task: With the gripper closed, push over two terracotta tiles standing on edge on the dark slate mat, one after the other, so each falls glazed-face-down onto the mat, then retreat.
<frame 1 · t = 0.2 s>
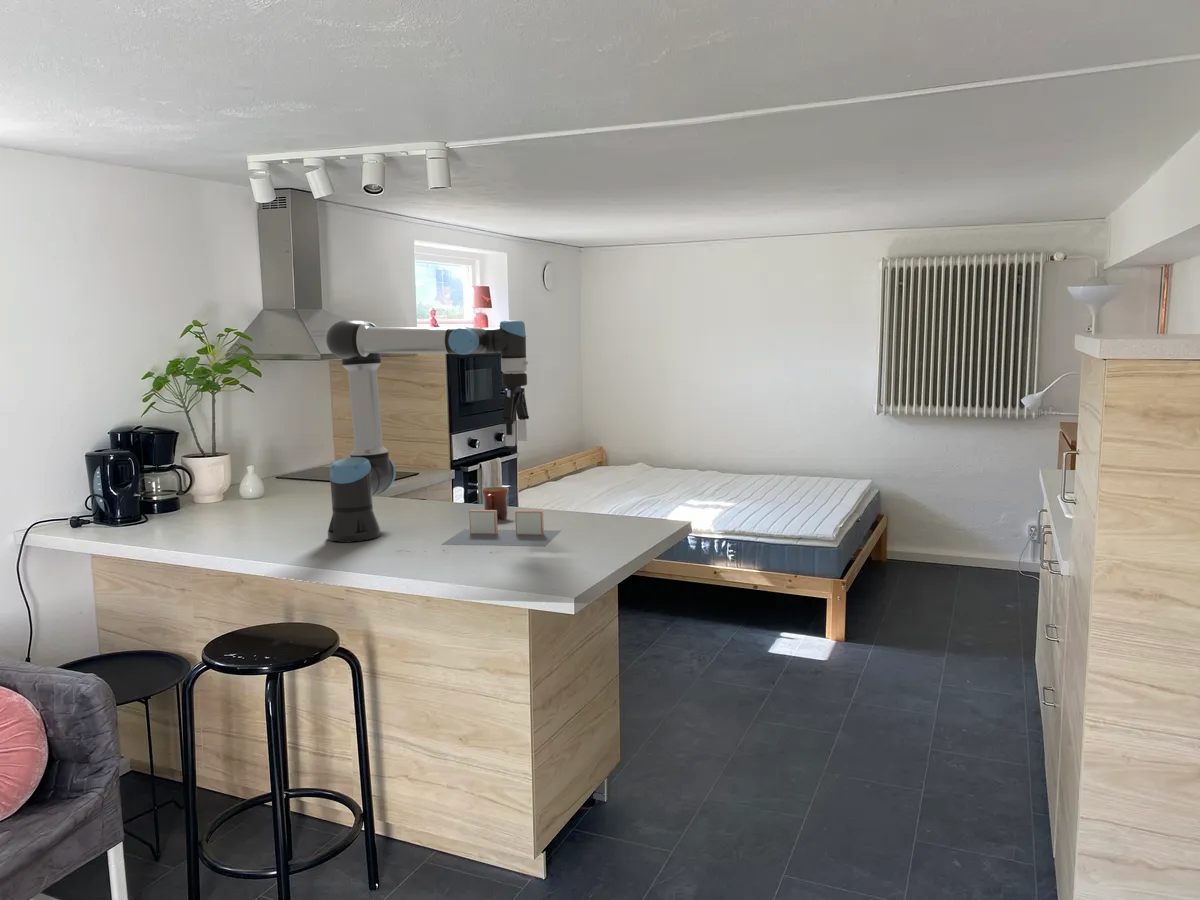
hand: (516, 443, 264), 27 cm above the worktop, fingers open, 13 cm apart
tile b: (529, 534, 255), point 1 cm above the worktop, touching mat
tile a: (483, 533, 258), point 1 cm above the worktop, touching mat
mug: (494, 521, 282), on the worktop
mat: (503, 541, 253), on the worktop
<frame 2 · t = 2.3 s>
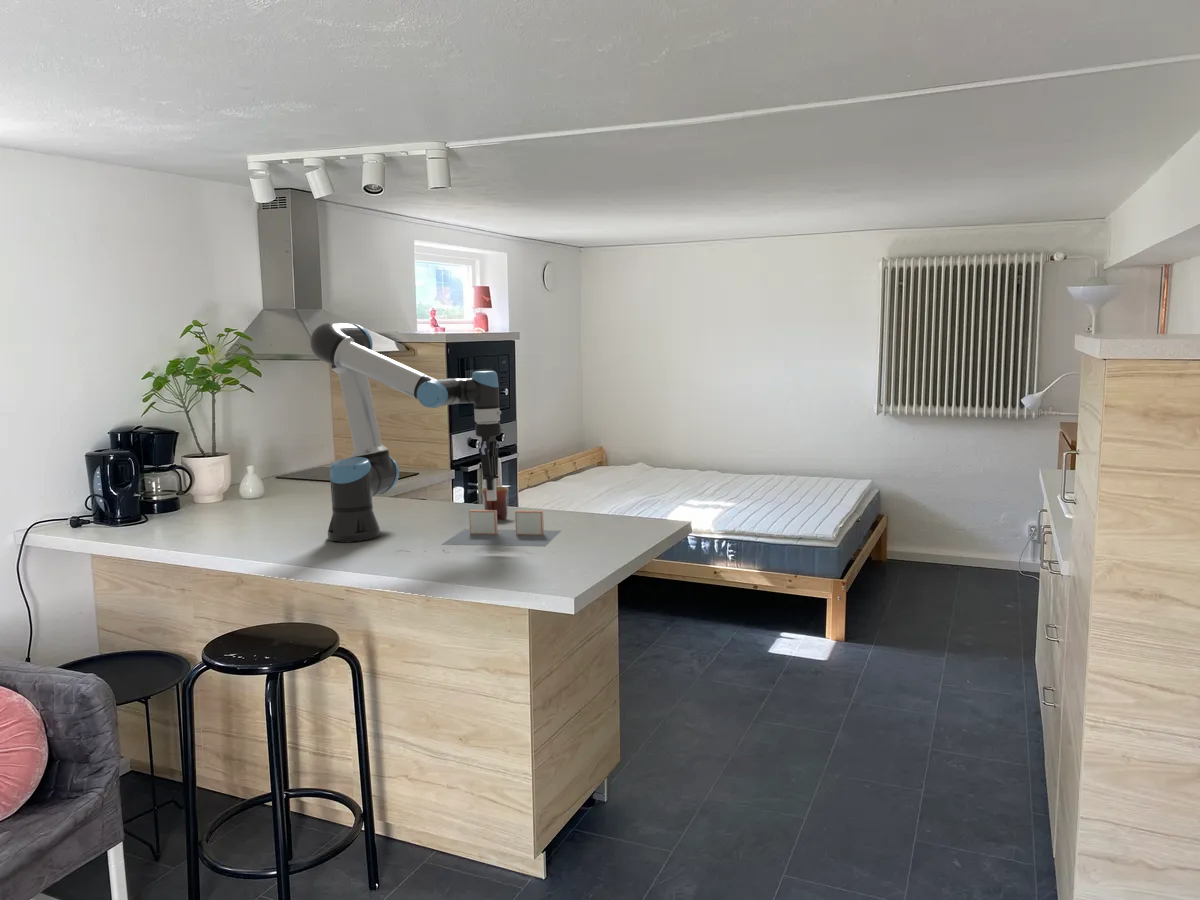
hand: (491, 500, 264), 10 cm above the worktop, fingers closed
nothing on the worktop moved.
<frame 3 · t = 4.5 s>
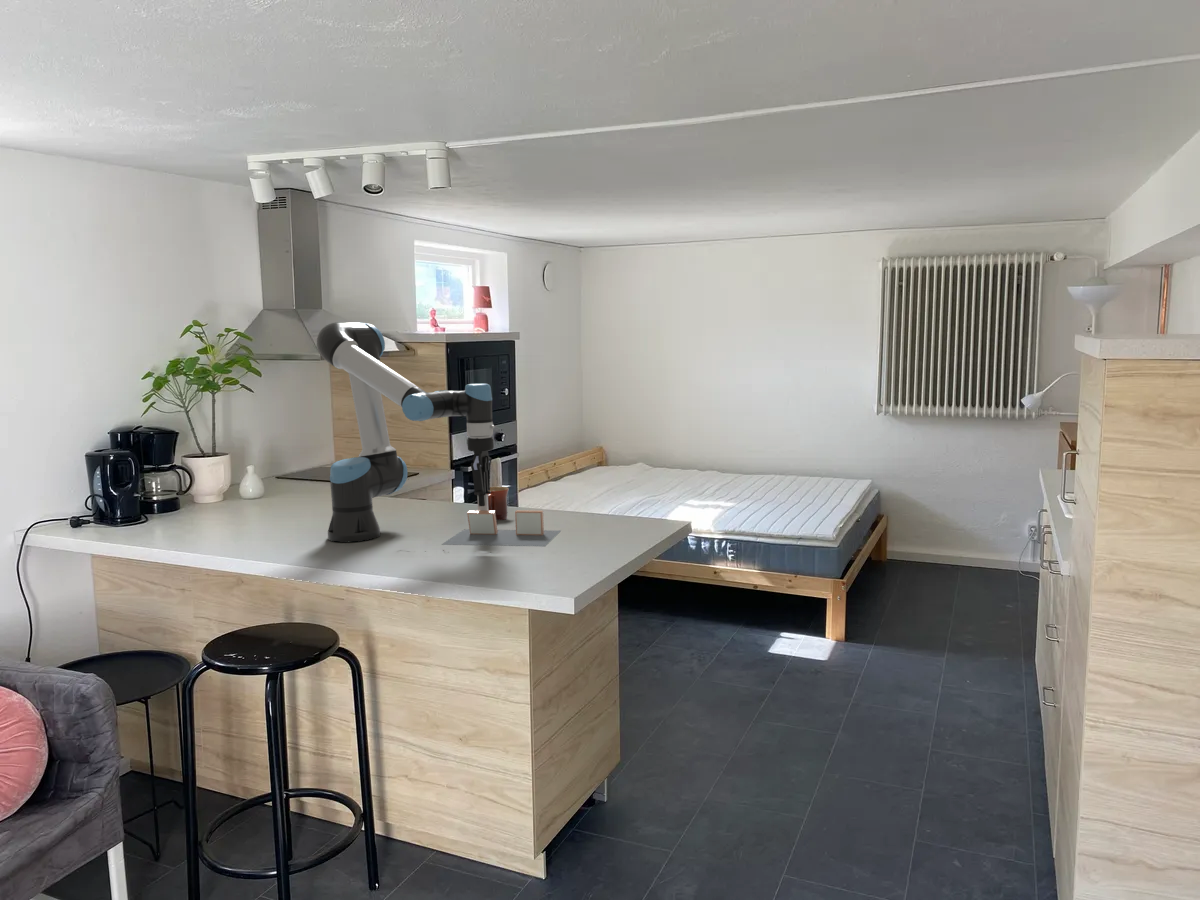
hand: (483, 516, 257), 6 cm above the worktop, fingers closed
tile a: (483, 533, 257), point 1 cm above the worktop, tilted 15°, touching mat
everything else where it was.
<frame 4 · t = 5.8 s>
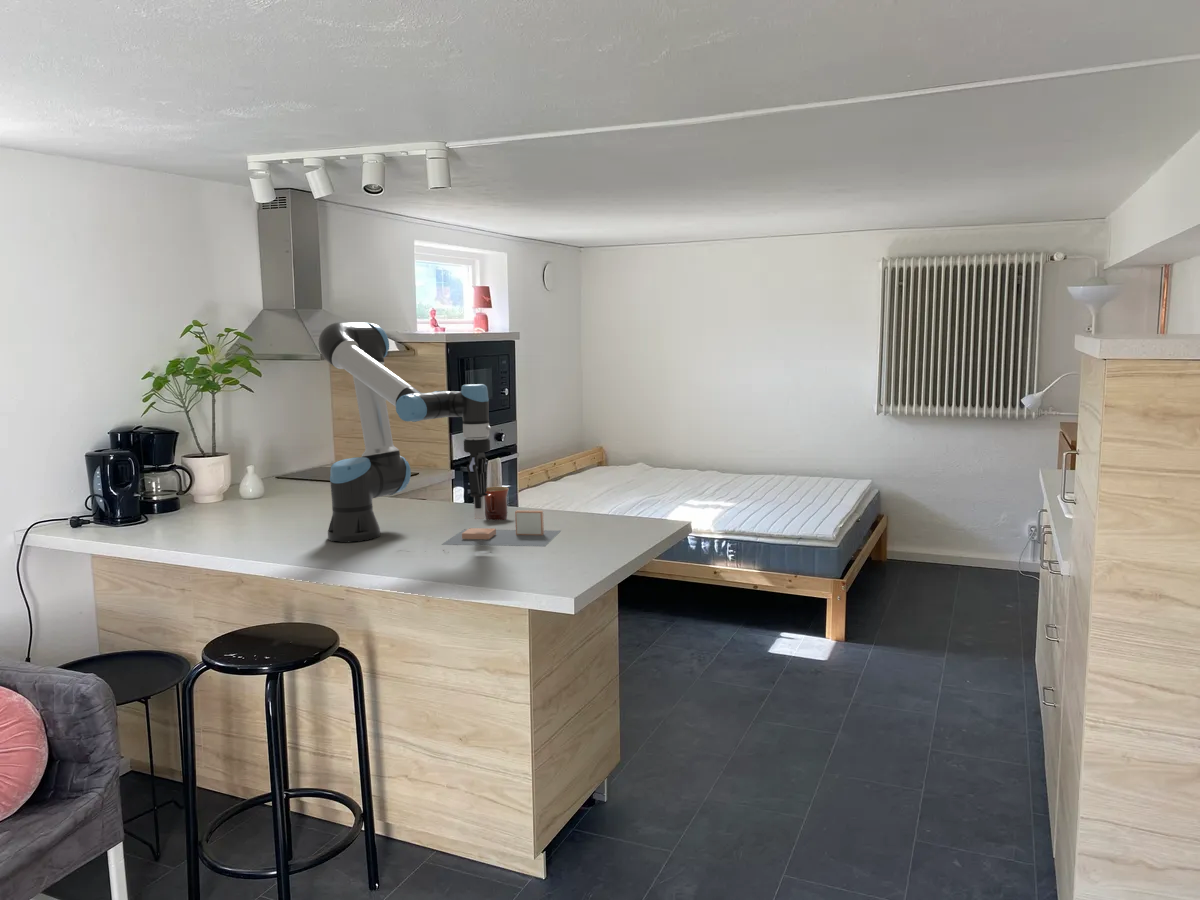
hand: (480, 518, 254), 6 cm above the worktop, fingers closed
tile a: (482, 531, 257), point 2 cm above the worktop, tilted 90°, touching mat
everything else where it was.
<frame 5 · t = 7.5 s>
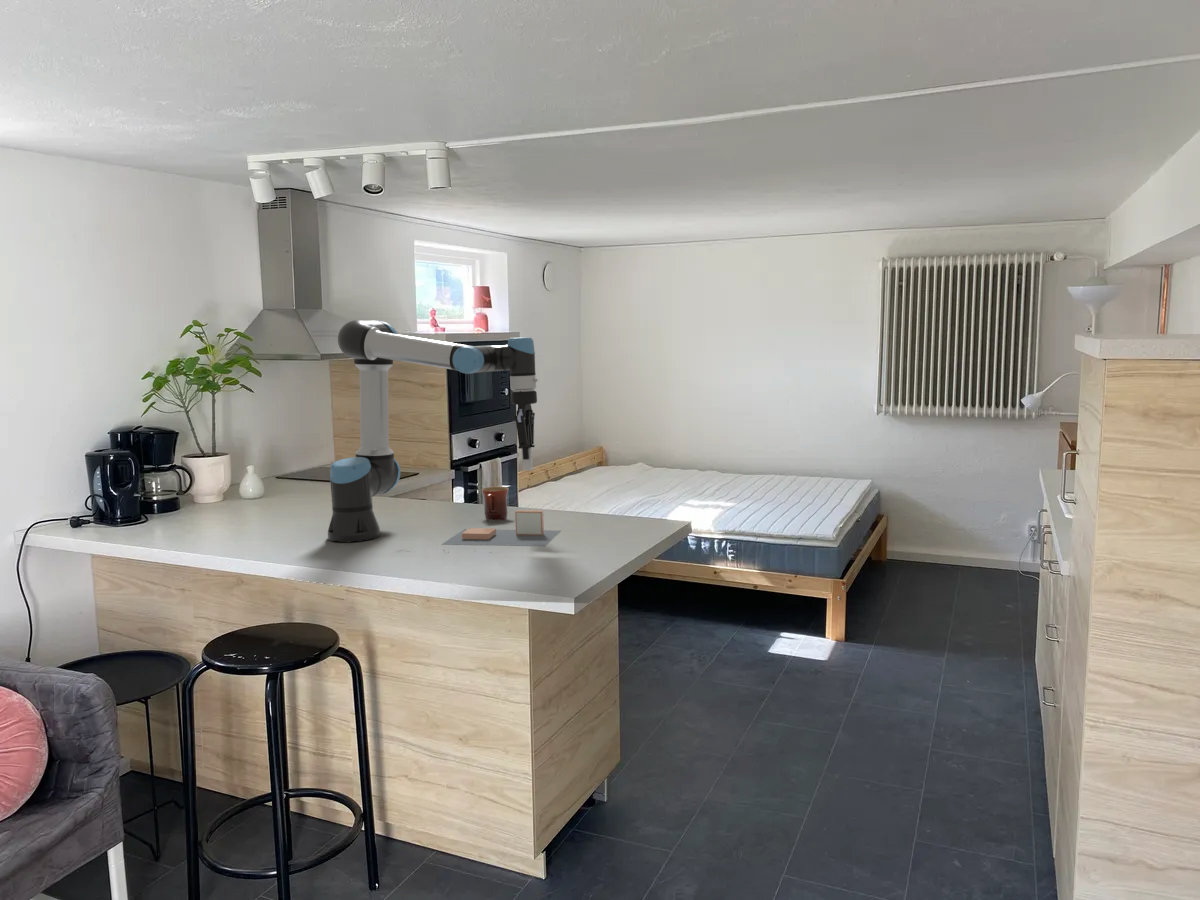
hand: (527, 469, 259), 19 cm above the worktop, fingers closed
nothing on the worktop moved.
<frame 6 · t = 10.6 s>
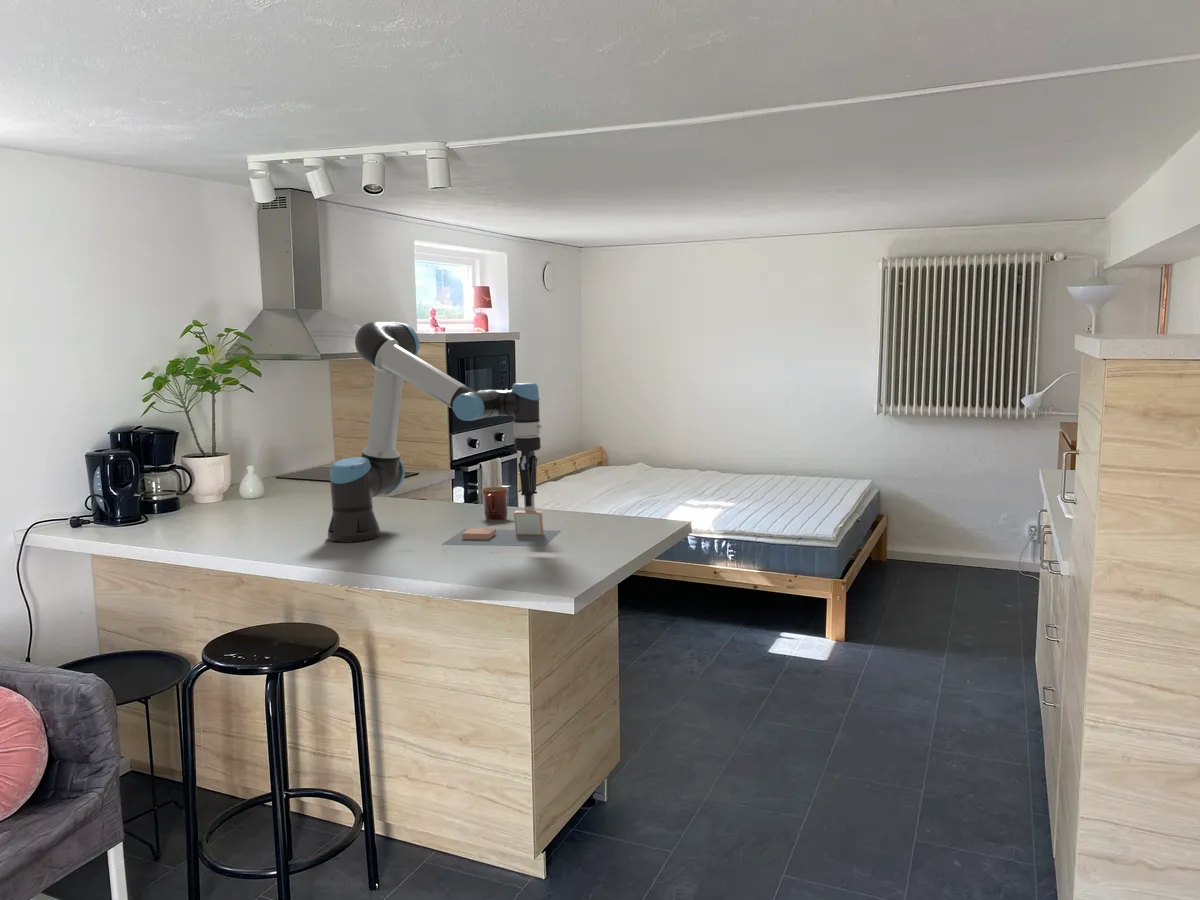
hand: (529, 516, 255), 6 cm above the worktop, fingers closed
tile b: (529, 534, 255), point 1 cm above the worktop, tilted 10°, touching mat
everything else where it was.
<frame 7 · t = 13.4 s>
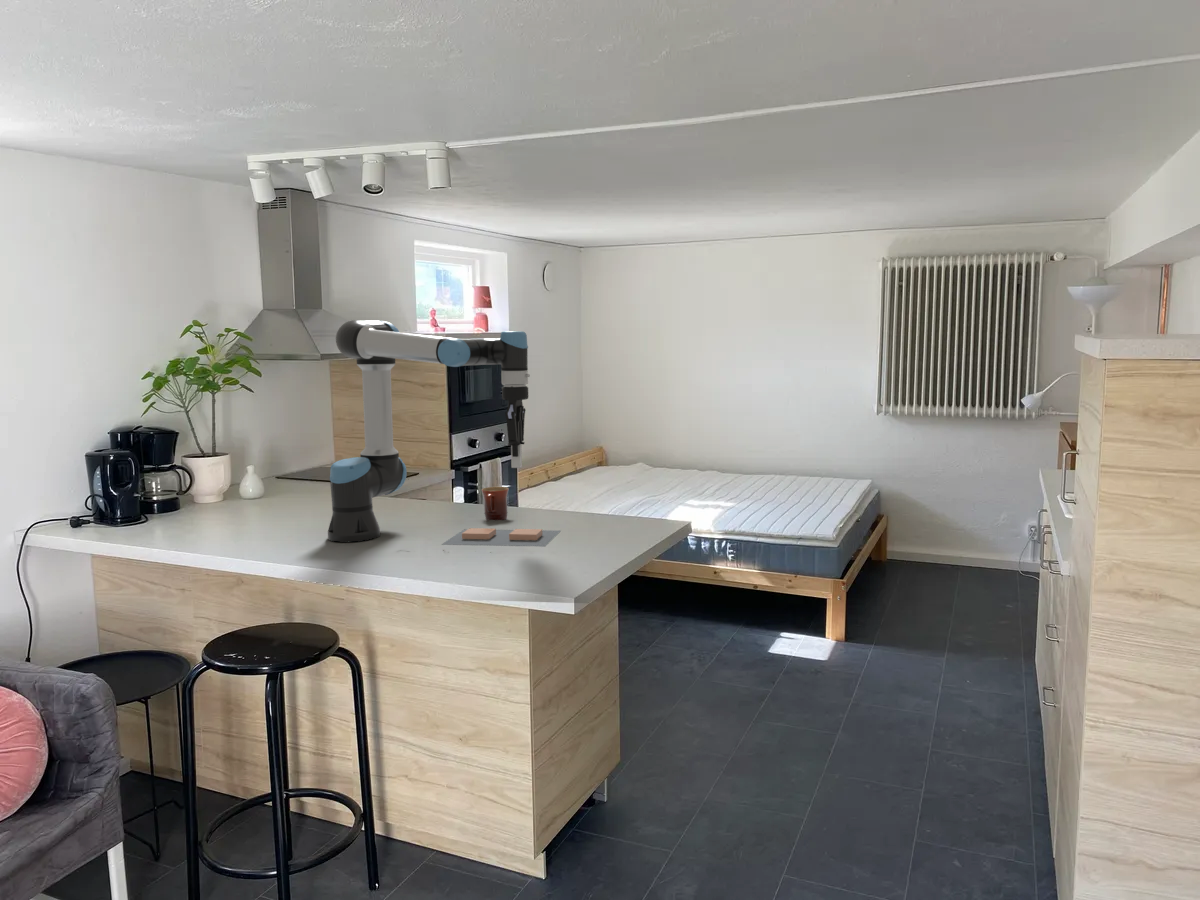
hand: (516, 467, 252), 21 cm above the worktop, fingers closed
tile b: (529, 532, 254), point 2 cm above the worktop, tilted 90°, touching mat
everything else where it was.
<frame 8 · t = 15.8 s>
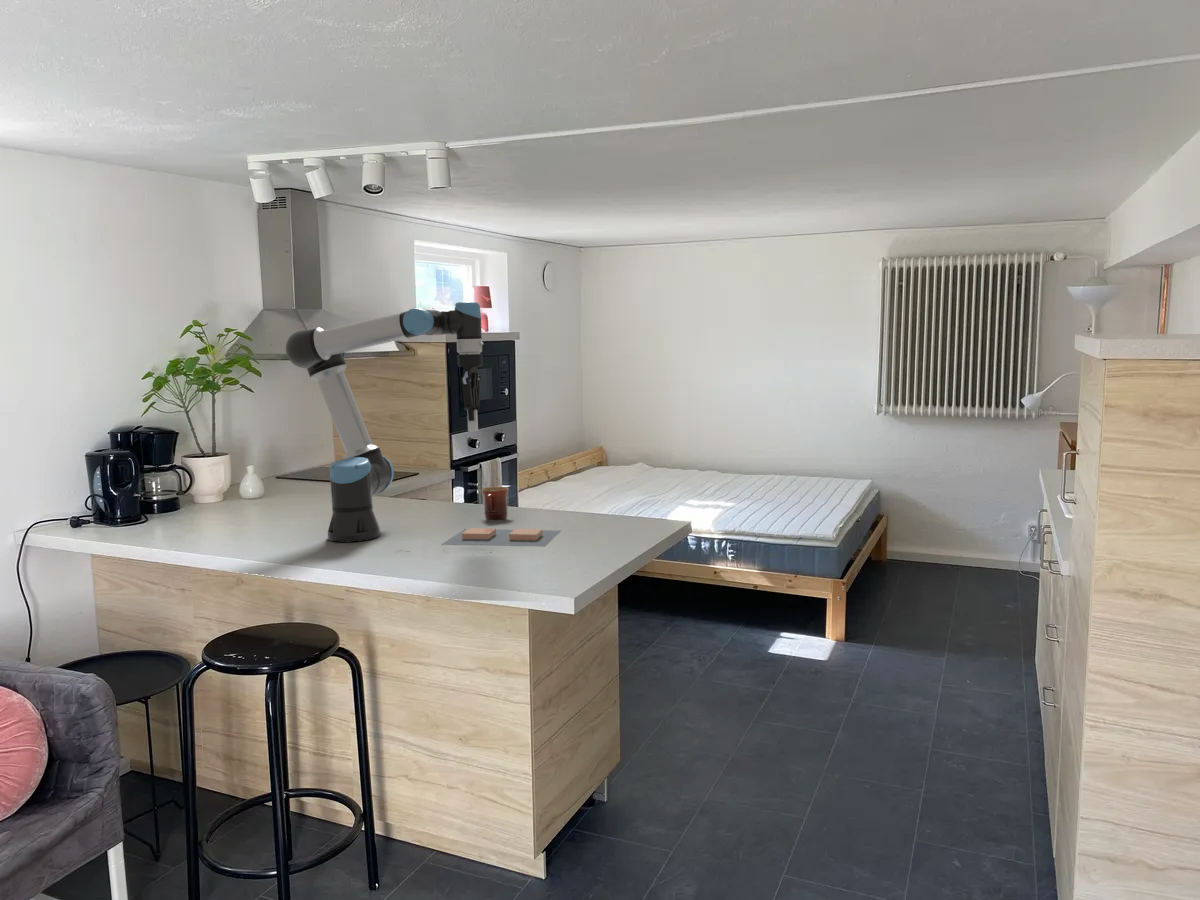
hand: (473, 431, 267), 30 cm above the worktop, fingers closed
nothing on the worktop moved.
at the end: tile a tilted 90°; tile b tilted 90°; tile b inside the target area (7.7 cm from its centre), point 2.1 cm above the worktop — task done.
